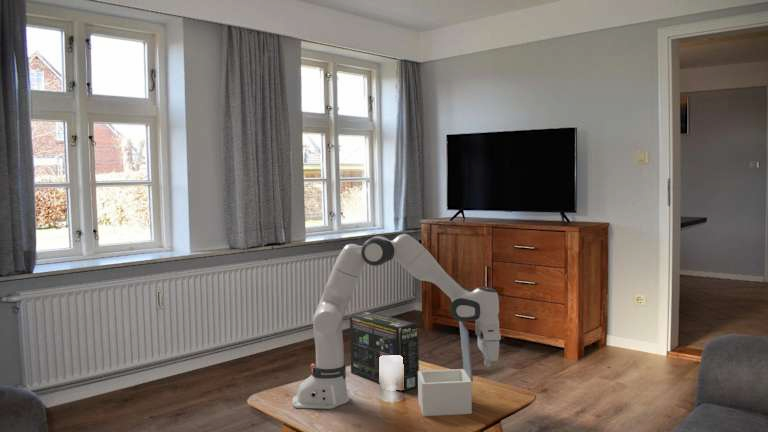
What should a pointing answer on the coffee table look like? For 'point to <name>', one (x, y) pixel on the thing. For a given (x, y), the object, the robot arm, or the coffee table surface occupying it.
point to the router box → (383, 345)
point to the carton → (444, 392)
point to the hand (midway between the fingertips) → (487, 365)
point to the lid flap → (467, 356)
